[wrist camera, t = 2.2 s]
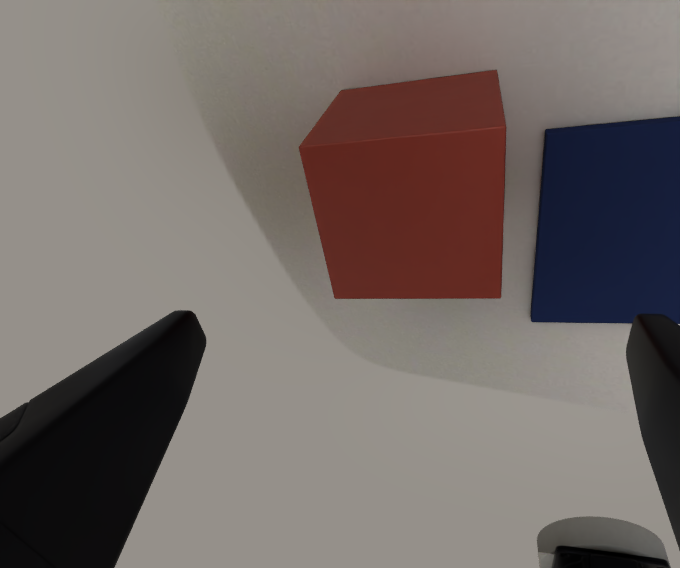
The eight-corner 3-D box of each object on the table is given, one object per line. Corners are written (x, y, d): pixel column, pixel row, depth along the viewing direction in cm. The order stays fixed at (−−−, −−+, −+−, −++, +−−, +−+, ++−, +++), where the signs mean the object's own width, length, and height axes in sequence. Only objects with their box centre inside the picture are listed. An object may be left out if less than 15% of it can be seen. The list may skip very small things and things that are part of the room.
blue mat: (760, 318, 17) (765, 325, 17) (530, 316, 20) (531, 322, 19) (862, 98, 13) (871, 102, 12) (544, 129, 15) (546, 133, 15)
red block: (494, 213, 17) (501, 299, 13) (362, 220, 18) (334, 299, 15) (497, 69, 14) (506, 125, 10) (340, 90, 16) (297, 147, 12)
